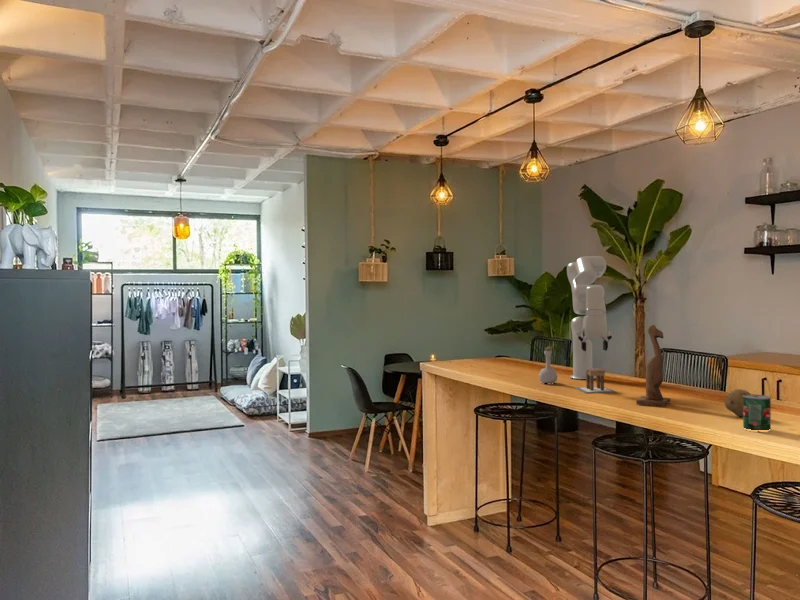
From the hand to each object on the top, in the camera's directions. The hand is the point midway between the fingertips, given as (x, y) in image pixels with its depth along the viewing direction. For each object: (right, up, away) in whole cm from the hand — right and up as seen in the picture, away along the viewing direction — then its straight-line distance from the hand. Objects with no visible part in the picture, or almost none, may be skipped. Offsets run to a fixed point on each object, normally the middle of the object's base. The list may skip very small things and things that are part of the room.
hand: (594, 350), depth 289 cm
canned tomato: (+28, -20, -81) cm, 88 cm away
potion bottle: (-16, -18, +22) cm, 33 cm away
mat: (0, -18, 0) cm, 18 cm away
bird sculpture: (+13, -19, -35) cm, 42 cm away
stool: (0, -18, 0) cm, 18 cm away
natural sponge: (+33, -19, -61) cm, 72 cm away
